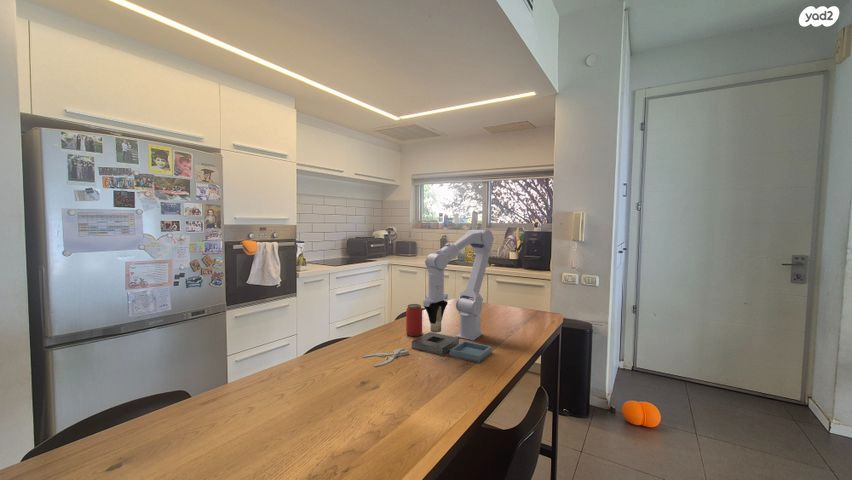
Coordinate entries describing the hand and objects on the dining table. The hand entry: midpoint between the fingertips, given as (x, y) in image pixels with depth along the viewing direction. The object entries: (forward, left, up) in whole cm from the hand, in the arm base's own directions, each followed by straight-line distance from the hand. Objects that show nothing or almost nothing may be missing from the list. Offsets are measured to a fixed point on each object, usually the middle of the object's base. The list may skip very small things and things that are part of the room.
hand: (435, 321), depth 129 cm
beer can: (-7, -15, -10) cm, 19 cm away
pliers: (+18, -8, -10) cm, 22 cm away
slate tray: (0, +14, -9) cm, 17 cm away
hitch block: (0, 0, -9) cm, 9 cm away
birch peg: (0, 0, -3) cm, 3 cm away
